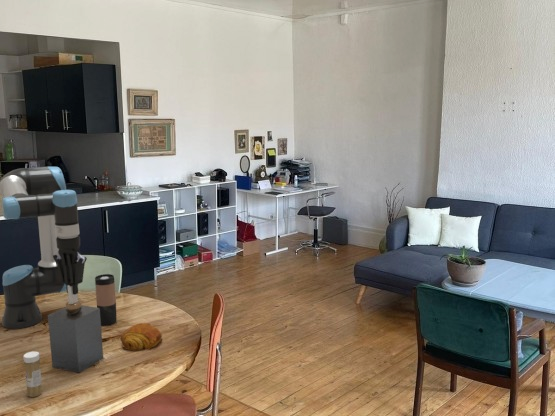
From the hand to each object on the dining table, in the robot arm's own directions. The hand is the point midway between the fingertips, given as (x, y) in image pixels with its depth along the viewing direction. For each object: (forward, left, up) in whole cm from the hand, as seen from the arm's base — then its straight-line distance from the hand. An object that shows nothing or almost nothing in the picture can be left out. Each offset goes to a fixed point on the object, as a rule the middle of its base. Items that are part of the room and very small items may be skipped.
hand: (73, 302), depth 192 cm
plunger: (0, 0, -21) cm, 21 cm away
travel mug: (-15, +33, -23) cm, 43 cm away
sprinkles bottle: (+3, -22, -23) cm, 32 cm away
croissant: (+11, +22, -23) cm, 34 cm away
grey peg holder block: (0, 0, -22) cm, 22 cm away
